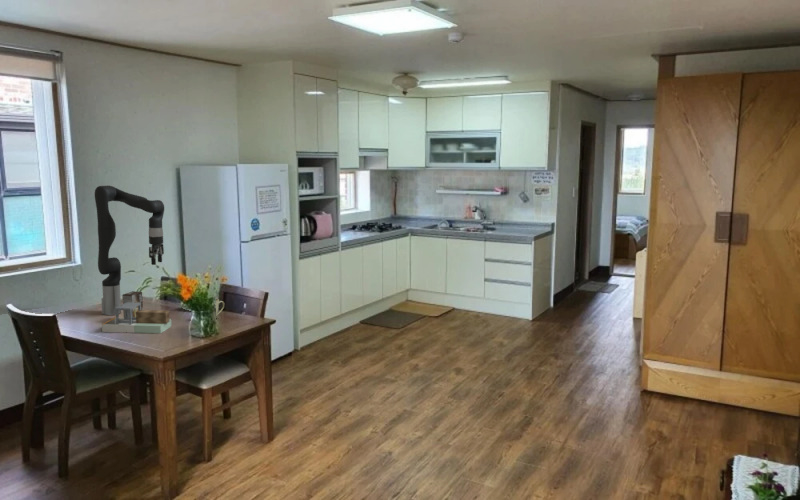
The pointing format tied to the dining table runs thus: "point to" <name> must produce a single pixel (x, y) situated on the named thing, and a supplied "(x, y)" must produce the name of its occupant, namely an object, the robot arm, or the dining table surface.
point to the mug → (218, 305)
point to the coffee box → (132, 297)
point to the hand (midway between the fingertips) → (156, 263)
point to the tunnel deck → (132, 322)
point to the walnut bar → (152, 316)
